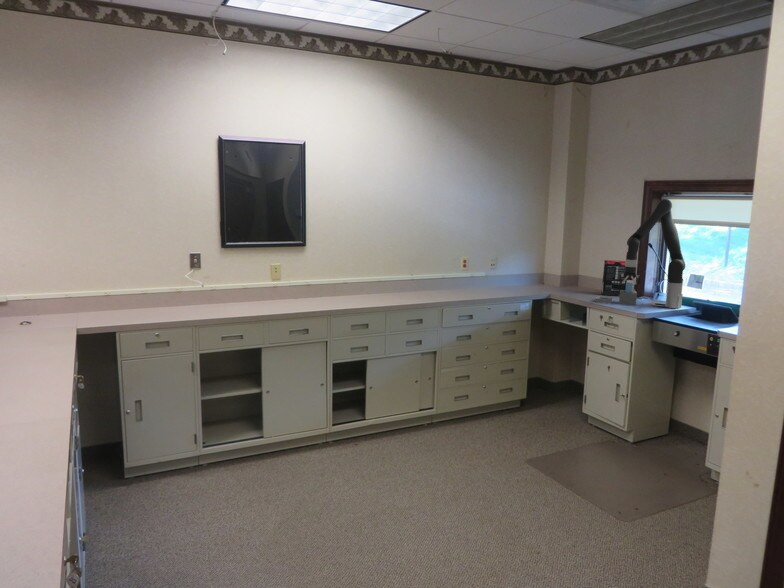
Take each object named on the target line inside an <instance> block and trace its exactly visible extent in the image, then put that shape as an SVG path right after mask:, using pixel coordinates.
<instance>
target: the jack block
mask: <svg viewBox="0 0 784 588" xmlns="http://www.w3.org/2000/svg"><path fill="white" fill-rule="evenodd" d="M637 296H638V292H637V291H636V290H632V292H625V290H620V296H619V298H618V299H619V300H618V305H625V304H626V306H637V299H638V298H637ZM594 301H597V302H596V303H601V302H606V303H605V304H612V302H613V297H611V296H610V297H608V296H596V297H595V299H594Z"/></svg>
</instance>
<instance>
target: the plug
mask: <svg viewBox="0 0 784 588" xmlns="http://www.w3.org/2000/svg"><path fill="white" fill-rule="evenodd" d="M632 291H633V282H630V281H627V282H626V290H625V292H632Z"/></svg>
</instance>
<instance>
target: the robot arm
mask: <svg viewBox="0 0 784 588" xmlns="http://www.w3.org/2000/svg"><path fill="white" fill-rule="evenodd" d="M672 208H673V203H672V201H671V200H669V199H667V198H664V199H661V200H659V201H658V203H657V204H656V207H655V208H654V210H653V212H652V213H651V214H650V215H649V217H647V219H645V221H644V222H643V223H642V224H641V225H640V226H639V227H638V228H637V230H636V231H635V232H634V233H632V235H630V236H629V238H628V239H627V241H626V244H627V246H628V247H627V252H626V255H625V256H626V257H625V261H626V262H625V272H624V274H620V275H619V282H620V283H622V286H621V287H622V289H623V288H624V282H625V281H626V280H627V281H633V282H632V283H634V285H633V291H636V290H637V285H639V284H640V282H641V275H640V274H636V273H637V267H638V266H637V265H638V264H637V263H638V262H637V261H638V252H639V248H640V241H642V239H644V238H645V237H646V236H647V235H648V234H649V233H650V231H651V230H653V228H654V227H655V225H656V224H657V222H658V221H659V220H660V223H661V224H660V225H661V232H662V237H663V242H664V245H665V247H666V248H667V251H668V253H669V257H670V262H669V263H668V267H667V285H666V286H667V287H666V296H665V297H666V298H665V307H666V308H669V309H671V308H672V309H680V308H682V305H683V304H682V303H683V302H682V301H683V284H684V283H683V282H684V279H683V273H684V270H685V269H686V262H685V259H684V257H683V254H682V250H681V243H680V237H679V232H678V229H677V226H676V224H675V222H674V220H673V215H672ZM622 276H624V277H625V279H624V280H623V281H621V277H622ZM636 278H637V281H636Z"/></svg>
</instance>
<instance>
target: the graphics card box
mask: <svg viewBox="0 0 784 588" xmlns="http://www.w3.org/2000/svg"><path fill="white" fill-rule="evenodd" d="M625 262H626V260H612V259H611V260H610V259H604V264H603V273H602V282H601V290H600V292H601V293H600V294H601V295H602V296H614V297H620V290H626V282H628V280H626V281H625V282H624V288H623V289H622V287H621V286H622V283H620V282H619V275H620V274H624V272H625ZM624 279H625V277H624V276H622V277H621V281H623V280H624Z"/></svg>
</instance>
